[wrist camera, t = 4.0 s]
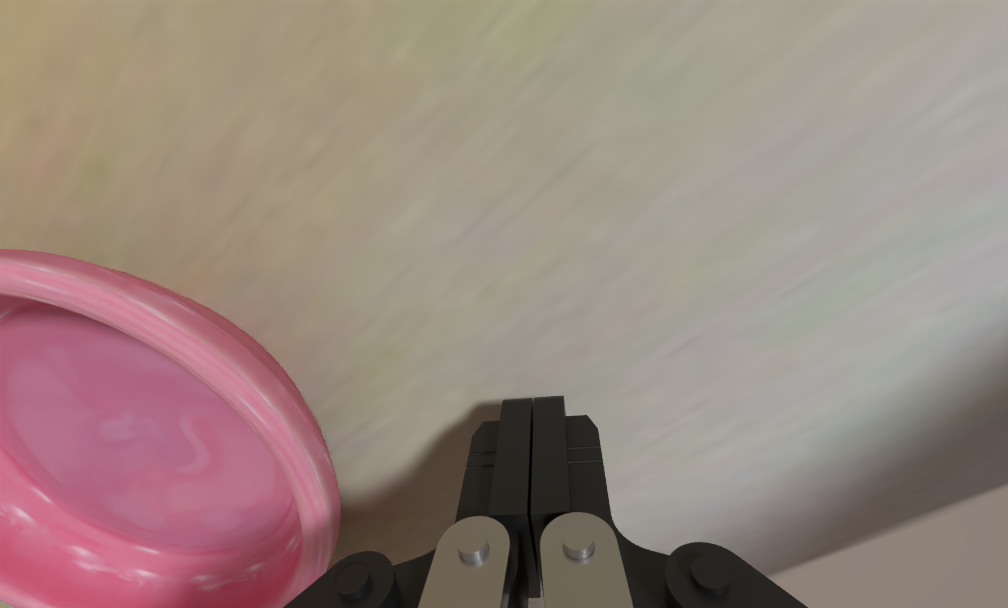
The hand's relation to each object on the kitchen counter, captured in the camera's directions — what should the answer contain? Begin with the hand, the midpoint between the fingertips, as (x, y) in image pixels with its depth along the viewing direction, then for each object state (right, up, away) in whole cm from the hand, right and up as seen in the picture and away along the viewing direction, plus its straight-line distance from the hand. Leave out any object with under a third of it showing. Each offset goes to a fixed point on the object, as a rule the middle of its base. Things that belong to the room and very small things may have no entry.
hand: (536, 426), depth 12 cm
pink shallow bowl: (-11, 0, +3) cm, 11 cm away
